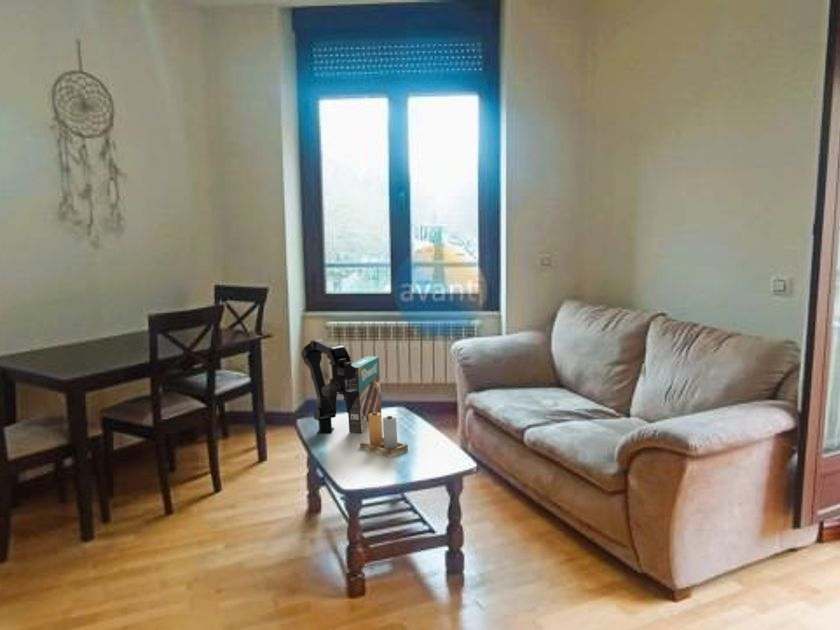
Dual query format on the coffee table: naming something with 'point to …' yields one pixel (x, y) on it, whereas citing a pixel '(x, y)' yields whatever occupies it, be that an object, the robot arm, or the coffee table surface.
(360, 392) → the cake mix box
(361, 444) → the slot rack
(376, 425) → the orange bottle
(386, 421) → the grey bottle
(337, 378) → the robot arm
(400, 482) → the coffee table surface
